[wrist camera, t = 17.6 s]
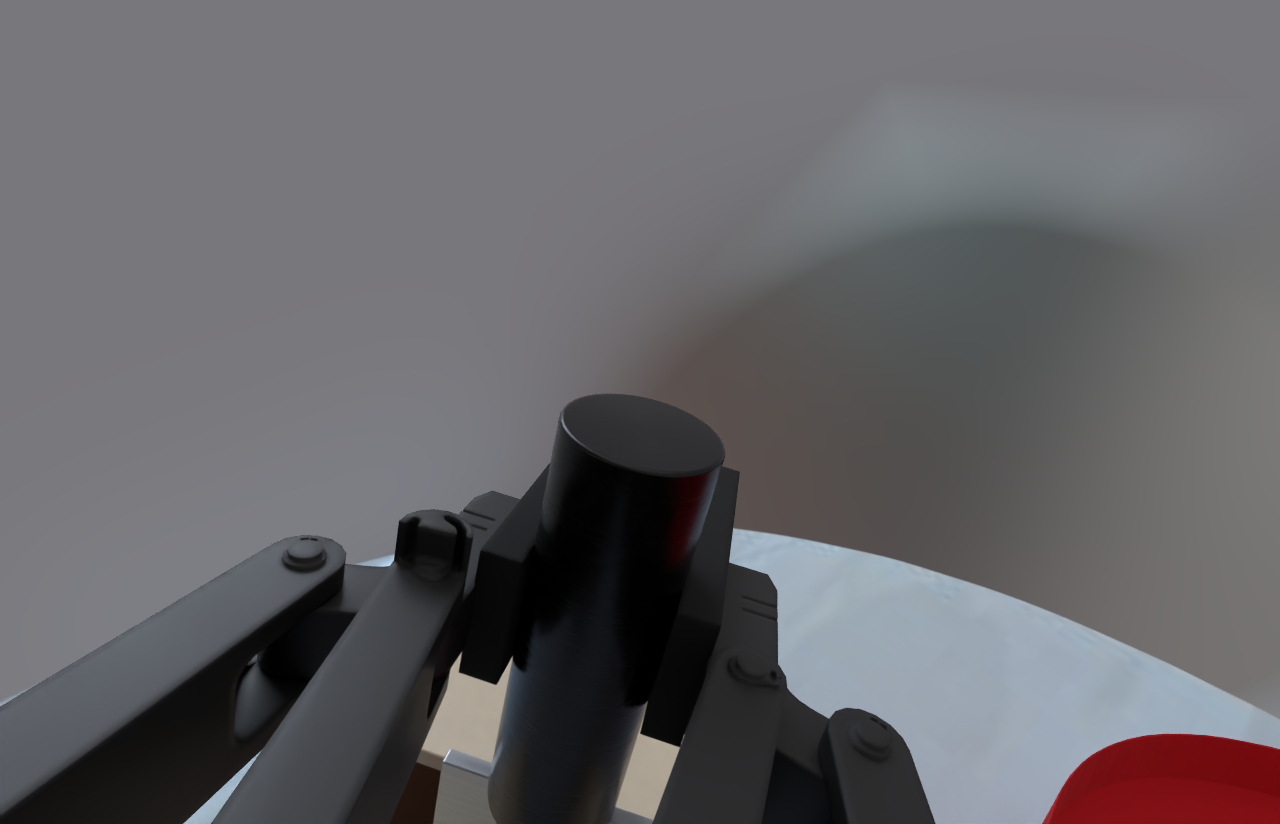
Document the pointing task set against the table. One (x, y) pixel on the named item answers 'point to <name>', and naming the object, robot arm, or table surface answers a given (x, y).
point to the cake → (473, 731)
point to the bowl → (1173, 783)
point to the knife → (592, 614)
